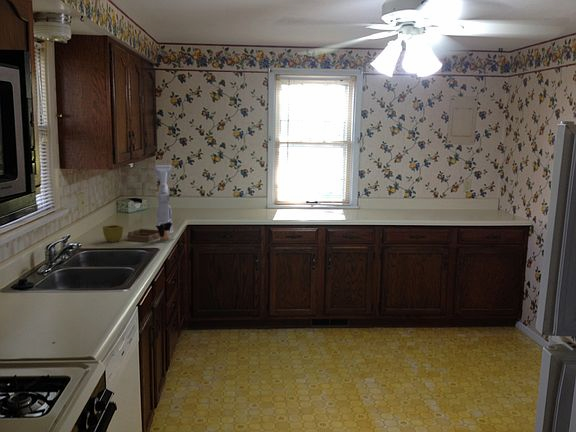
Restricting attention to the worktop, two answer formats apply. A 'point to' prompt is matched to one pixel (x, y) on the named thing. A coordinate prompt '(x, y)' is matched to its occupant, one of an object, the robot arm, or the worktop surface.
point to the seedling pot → (165, 236)
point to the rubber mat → (164, 241)
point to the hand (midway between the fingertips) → (164, 235)
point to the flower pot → (113, 232)
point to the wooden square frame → (143, 235)
